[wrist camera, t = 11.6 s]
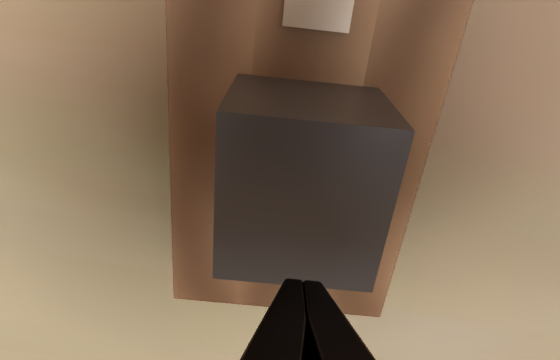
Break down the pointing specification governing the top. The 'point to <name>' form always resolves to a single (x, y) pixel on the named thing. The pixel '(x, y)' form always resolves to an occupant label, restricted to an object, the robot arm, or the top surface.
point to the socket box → (301, 66)
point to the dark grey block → (305, 181)
